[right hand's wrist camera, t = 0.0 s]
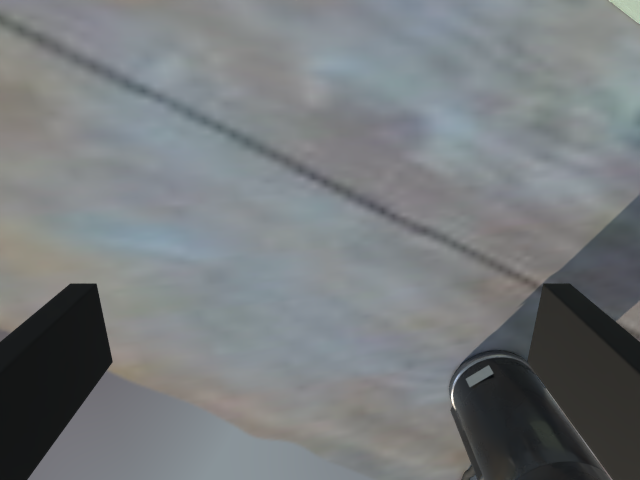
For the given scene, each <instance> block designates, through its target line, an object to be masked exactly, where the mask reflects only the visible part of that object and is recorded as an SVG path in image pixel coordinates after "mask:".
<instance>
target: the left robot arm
mask: <svg viewBox="0 0 640 480" xmlns="http://www.w3.org/2000/svg"><path fill="white" fill-rule="evenodd" d="M449 395H450V398H451V401H452V404H453V406H452V408H451V413H452V415H453V418H454V421H455V423H456V426H457V428H458V431H459V433H460V436H461V438H462V441H463V444H464V446H465V449H466V451H467V454H468V456H469V459H470V462H471V464H472V466H471V468H470V469H469V470H467V471H466V472H465V473H464V475H463V477H462V480H470V478H471V477H473V476H474V475H475V474H476V477H477V479H478V480H611V479H610V478H609V477H608V475H607V474H606V472H605V471H604V470H603V468H602V467H601V465H600V464H599V463H598V461H597V460H596V458H595V457H594V456H593V454H592V453H591V452H590V450H589V449H588V447H587V446H586V445H585V443H584V442H583V440H582V439H581V438H580V436H579V435H578V433H577V432H576V431H575V429H574V428H573V426H572V425H571V424H570V422H569V421H568V419H567V418H566V417H565V415H564V414H563V412H562V411H561V410H560V408H559V407H558V405H557V404H556V403H555V401H554V400H553V399H552V397H551V396H550V394H549V393H548V392H547V390H546V389H545V387H544V386H543V385H542V383H541V382H540V380H539V379H538V378H537V376H536V374H535V372H534V371H533V369H532V368H531V366H530V365H529V364H528V363H527V361H525V360H524V359H523V358H522V357H520V356H518V355H516V354H514V353H510V352H506V351H490V352H485V353H481V354H478V355H476V356H474V357H472V358H470V359H468V360H467V361H465V362H464V363H463V364H462V365H461V366H460V367H459V368H458V369H457V370H456V372H455V373H454V375H453V377H452V379H451V382H450V386H449Z"/></svg>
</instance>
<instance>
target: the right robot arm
mask: <svg viewBox="0 0 640 480" xmlns="http://www.w3.org/2000/svg"><path fill="white" fill-rule="evenodd" d="M112 362H113V361H112V357H111V352H110V347H109V342H108V337H107V332H106V327H105V323H104V318H103V313H102V308H101V303H100V298H99V293H98V288H97V284H69V285H68V286H67V287H66V288H65V289H63V290H62V291H61V292H60V293H59V294H57V295H56V296H55V297H54V298H53V299H51V300H50V301H49V302H48V303H47V304H45V305H44V306H43V307H42V308H41V309H39V310H38V311H37V312H36V313H35V314H33V315H32V316H31V317H30V318H29V319H27V320H26V321H25V322H24V323H23V324H21V325H20V326H19V327H18V328H17V329H15V330H14V331H13V332H12V333H11V334H9V335H8V336H7V337H6V338H5V339H3V340H2V341H1V342H0V480H27V479H28V478H29V477H30V475H31V474H32V472H33V471H34V470H35V468H36V467H37V465H38V464H39V463H40V461H41V460H42V459H43V457H44V456H45V454H46V453H47V452H48V450H49V449H50V447H51V446H52V445H53V443H54V442H55V441H56V439H57V438H58V436H59V435H60V434H61V432H62V431H63V430H64V428H65V427H66V425H67V424H68V423H69V421H70V420H71V419H72V417H73V416H74V414H75V413H76V412H77V410H78V409H79V408H80V406H81V405H82V403H83V402H84V401H85V399H86V398H87V397H88V395H89V394H90V392H91V391H92V390H93V388H94V387H95V386H96V384H97V383H98V381H99V380H100V379H101V377H102V376H103V374H104V373H105V372H106V370H107V369H108V368H109V366H110V365H111V363H112ZM527 362H528V363H529V365H530V366H531V368H532V369H533V370H534V372H535V373H536V374H537V376H538V377H539V379H540V380H541V381H542V383H543V384H544V386H545V387H546V388H547V390H548V391H549V392H550V394H551V395H552V397H553V398H554V399H555V401H556V402H557V403H558V405H559V406H560V408H561V409H562V410H563V412H564V413H565V414H566V416H567V417H568V419H569V420H570V421H571V423H572V424H573V426H574V427H575V428H576V430H577V431H578V432H579V434H580V435H581V437H582V438H583V439H584V441H585V442H586V443H587V445H588V446H589V448H590V449H591V450H592V452H593V453H594V454H595V456H596V457H597V459H598V460H599V461H600V463H601V464H602V465H603V467H604V468H605V470H606V471H607V472H608V474H609V475H610V477H611V478H612V479H613V480H640V342H639V341H638V340H637V339H635V338H634V337H633V336H632V335H631V334H629V333H628V332H627V331H626V330H625V329H623V328H622V327H621V326H620V325H619V324H617V323H616V322H615V321H614V320H613V319H611V318H610V317H609V316H608V315H607V314H605V313H604V312H603V311H602V310H601V309H599V308H598V307H597V306H596V305H595V304H593V303H592V302H591V301H590V300H589V299H587V298H586V297H585V296H584V295H583V294H581V293H580V292H579V291H578V290H577V289H575V288H574V287H573V286H572V285H571V284H543V288H542V293H541V298H540V303H539V308H538V313H537V318H536V323H535V327H534V332H533V337H532V342H531V347H530V352H529V357H528V361H527Z"/></svg>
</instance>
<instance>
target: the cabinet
mask: <svg viewBox="0 0 640 480" xmlns="http://www.w3.org/2000/svg"><path fill="white" fill-rule="evenodd" d="M609 1H610V2H611V3H613V4H614V5H615V6H617V7H618V8H619V9H620V10H622V11H623V12H624V13H626V14H627V15H628V16H629V17H631V18H632V19H633V20H635V21H636V22H637V23H639V24H640V0H609Z"/></svg>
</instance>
